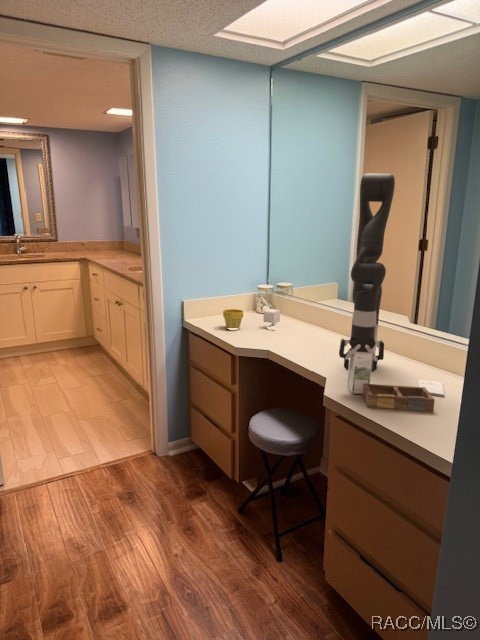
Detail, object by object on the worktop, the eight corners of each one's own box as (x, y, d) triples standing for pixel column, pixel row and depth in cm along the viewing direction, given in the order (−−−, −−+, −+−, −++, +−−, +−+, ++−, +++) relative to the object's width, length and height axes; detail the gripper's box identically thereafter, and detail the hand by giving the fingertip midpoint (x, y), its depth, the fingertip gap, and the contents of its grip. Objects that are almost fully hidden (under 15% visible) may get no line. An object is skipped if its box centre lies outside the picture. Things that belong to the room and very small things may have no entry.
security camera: (269, 326, 242) (270, 308, 240) (280, 328, 238) (281, 310, 236) (263, 328, 237) (263, 310, 235) (274, 331, 233) (275, 312, 231)
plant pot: (236, 326, 242) (236, 308, 239) (246, 330, 233) (247, 311, 231) (219, 328, 236) (219, 309, 234) (229, 332, 228) (229, 313, 225)
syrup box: (363, 388, 156) (367, 348, 153) (368, 395, 151) (372, 353, 147) (347, 388, 156) (350, 348, 153) (351, 394, 150) (355, 353, 147)
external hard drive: (417, 395, 153) (418, 383, 165) (444, 399, 150) (442, 386, 162) (418, 390, 153) (418, 379, 164) (444, 394, 150) (443, 382, 161)
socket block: (362, 394, 150) (363, 382, 150) (423, 398, 148) (425, 386, 147) (367, 407, 140) (369, 394, 139) (433, 412, 138) (435, 399, 137)
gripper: (383, 321, 151) (379, 368, 155) (340, 319, 152) (337, 365, 156) (388, 327, 144) (383, 375, 147) (342, 324, 145) (339, 372, 149)
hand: (359, 370), depth 152 cm, fingers open, 8 cm apart
